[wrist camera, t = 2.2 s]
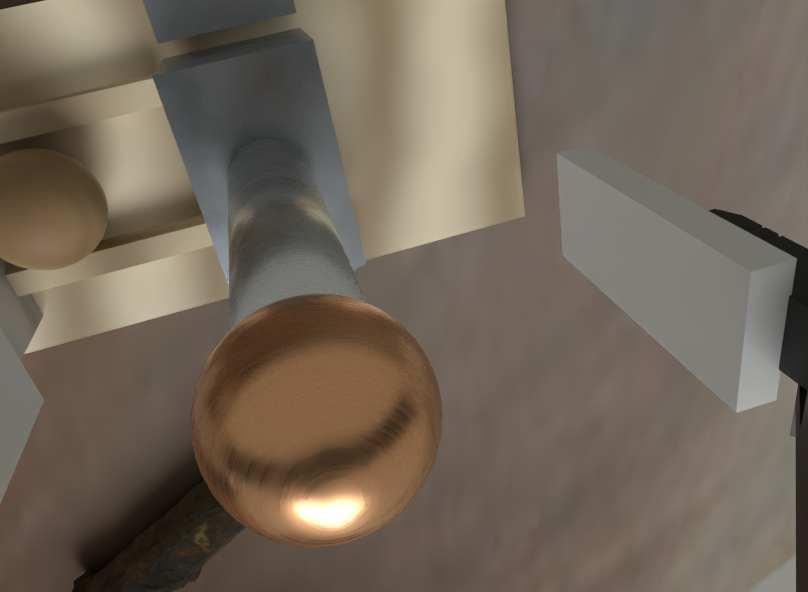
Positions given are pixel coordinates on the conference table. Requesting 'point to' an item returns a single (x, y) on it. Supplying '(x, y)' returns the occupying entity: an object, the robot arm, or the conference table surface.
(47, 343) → the knob lever base plate
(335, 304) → the ball-top joystick
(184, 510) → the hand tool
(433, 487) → the conference table surface
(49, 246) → the brown ball
